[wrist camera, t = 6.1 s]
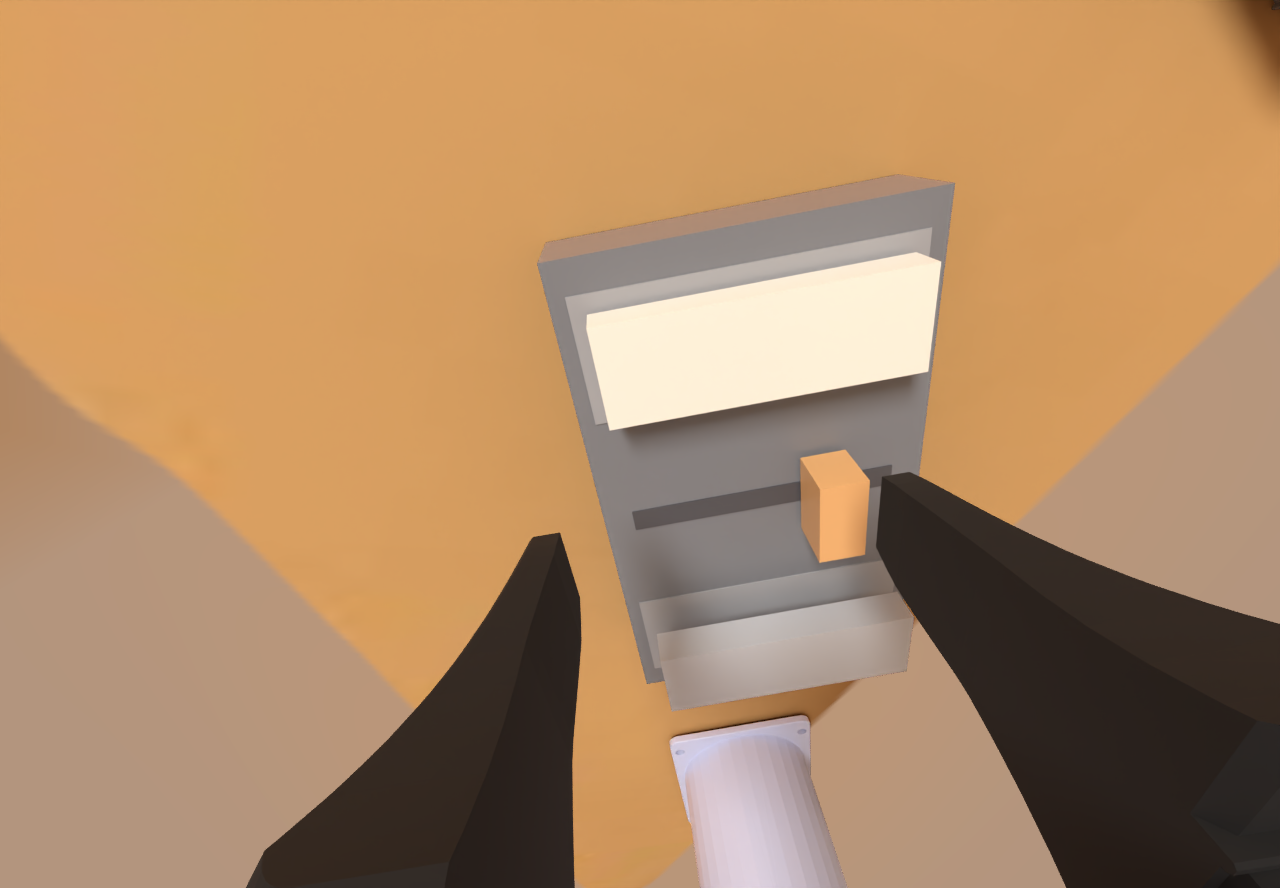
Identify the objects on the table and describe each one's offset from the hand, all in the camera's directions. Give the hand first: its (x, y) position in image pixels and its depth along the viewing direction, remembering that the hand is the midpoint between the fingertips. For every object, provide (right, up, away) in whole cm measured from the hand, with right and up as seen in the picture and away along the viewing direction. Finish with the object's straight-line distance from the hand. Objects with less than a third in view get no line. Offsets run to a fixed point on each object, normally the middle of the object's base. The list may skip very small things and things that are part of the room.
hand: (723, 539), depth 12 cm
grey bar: (+3, -5, +9) cm, 11 cm away
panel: (+2, +2, +9) cm, 10 cm away
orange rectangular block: (+4, +1, +6) cm, 8 cm away
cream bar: (+1, +5, +3) cm, 6 cm away
